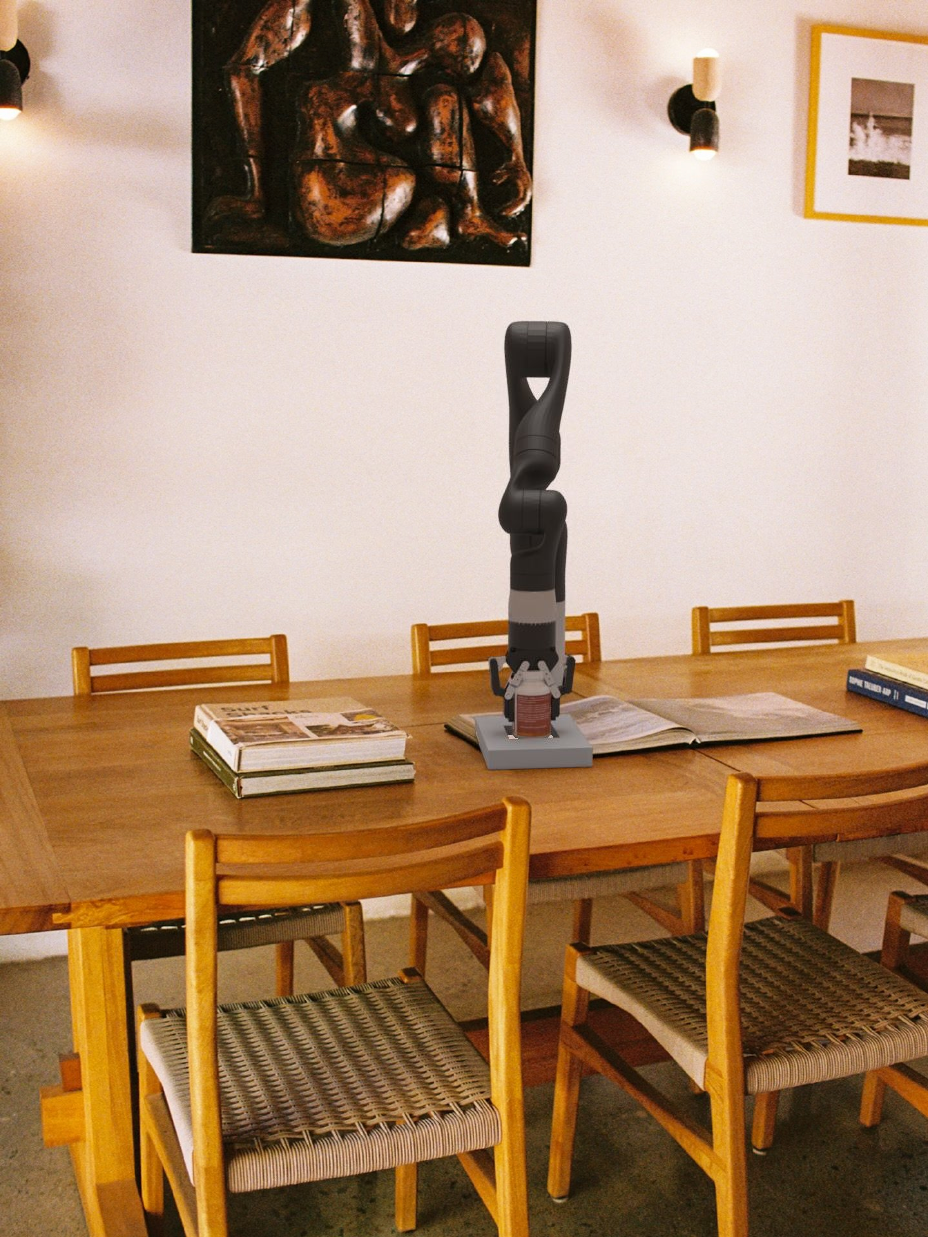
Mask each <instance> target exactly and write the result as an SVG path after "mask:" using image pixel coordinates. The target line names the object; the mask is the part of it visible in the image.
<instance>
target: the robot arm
mask: <svg viewBox="0 0 928 1237" xmlns="http://www.w3.org/2000/svg"><path fill="white" fill-rule="evenodd" d="M570 329H571V328H570V327H569V325H568V324H567V323H566V322H563V321H555V320H554V321H553V320H549V321H546V320H538V321H537V320H518V321H512V322H510V323H509V324H508V326H507V327H506V330H505V334H504V342H503V344H504V345H503V349H504V350H503V353H504V365H505V367H504V368H505V377H506V385H507V386H506V389H507V397H508V398H507V399H508V462H509V474H510V476H509V480H508V483H507V484H506V487H505V489H504V492H503V494H502V496H501V499H500V503H499V506H498V510H497V517H498V523H499V525H500V527H501V529H502V530H503V531H504V532H505V533H506V534H508V535H509V551H510V554H511V557H510V559H509V596H508V605H507V608H508V609H507V615H508V616H507V617H508V618H507V633H508V634H507V651H506V653H505V655H503V656H496V657H495V656H493V655H491V656H489V657H488V658H487V660H488V669H489V677H490V678H489V679H490V687H491V692H492V694H493V695H494V696H495V697H498V696H499V697H501V698H502V700H503V701H502V708H503V709H502V710H503V711H502V712H503V713H502V714H503V716H505V718H507V719H508V722H513V698H512V696H513V694H514V692H515V689H516V688H517V687H518V686H519V684H520V682H521V680H522V678H523V672H526V671H527V670H540V671H543V672H544V679H545V681H546V683H547V685H548V687H550V691H551V721H556V717H559V715H561V698H562V696H564V695H566V694H567V695H569V694H571V693H572V691H573V684H574V676H575V669H576V663H577V662H576V658H575V657H574V656H573V655H572V654H571V653H570V654H569V653H567V654H566V569H567V568H566V567H567V554H568V552H567V551H568V539H569V538H568V535H569V533H568V525H567V521H566V520H567V516H568V504H567V500H566V499H565V496H564V495H563V494H562V493H561V491H558V490H555V489H548V487H549V486H550V485H551V483H553V482H554V481H555V480H556V477H557V475H558V473H559V471H560V468H561V463H562V462H561V460H562V458H561V457H562V456H561V454H562V452H561V450H562V448H561V446H562V442H561V441H562V437H561V434H560V433H561V432H560V429H561V422H562V417H563V412H564V406H565V403H566V397H567V391H568V384H569V378H570V370H571V363H572V350H573V349H572V348H573V347H572V344H573V343H572V334H571V330H570ZM528 378H529V379H531V378H534V379H535V378H538V379H539V378H540V379H548V381H547V382H548V383H547V385H546V387H545V389H544V391H542V394H541V395H540V397H538V399H537V397H535V395H534V392H533V391H532V388H531V387H530V384H529V381H528ZM505 664H506V665H507V666H508V667H509V668H510V670H511V673H510V675H509V676H508V680H507V682H506V684H505V686H504V687H502V686H501V681H500V675H499V674H500V673H499V672H500V671H502V670H503V668H504V667H503V666H504V665H505Z"/></svg>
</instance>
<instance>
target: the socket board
mask: <svg viewBox="0 0 928 1237" xmlns="http://www.w3.org/2000/svg"><path fill="white" fill-rule="evenodd" d="M475 729H476V732H477V736H478V740H479V743H478V746H479V748H480V751H481V754H482V757H483V759H484V761H485V765H486V767H487V770H515V769H516V770H520V769H549V768H550V769H551V768H552V769H554V768H586V767H588V768H589V767H593V749H594V748H593V746H592V744H591V743H590V741H589V740H588V739H587V737H586V736H585V734H584V733H583V731H582V730H581V729H580V727H579V726H578V724H577V723H576V721H575V720H574V719H573V717H572V716H571V714H567V713H566V714H560V715H559V717H556V721H551V735H552V736H553V738H527V739H509V737H508V735H513V733H512V722H508V719H507V718H505V716H504V715H493V716H490V715H489V716H487V715H486V716H475V717H474V730H475Z"/></svg>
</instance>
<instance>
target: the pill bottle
mask: <svg viewBox="0 0 928 1237" xmlns="http://www.w3.org/2000/svg"><path fill="white" fill-rule="evenodd" d="M512 698H513V722H512V733H513V736H514V737H515V738H518V739H527V738H548V737H549V736H550V735H551V691H550V687H548V685H547V683H546V681H545V679H544V672H543V671H540V670H527V671H526V672H523V678H522V680H521V682H520V684H519V686H518V687H517V688H516V689H515V692H514V694H513V696H512Z"/></svg>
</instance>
